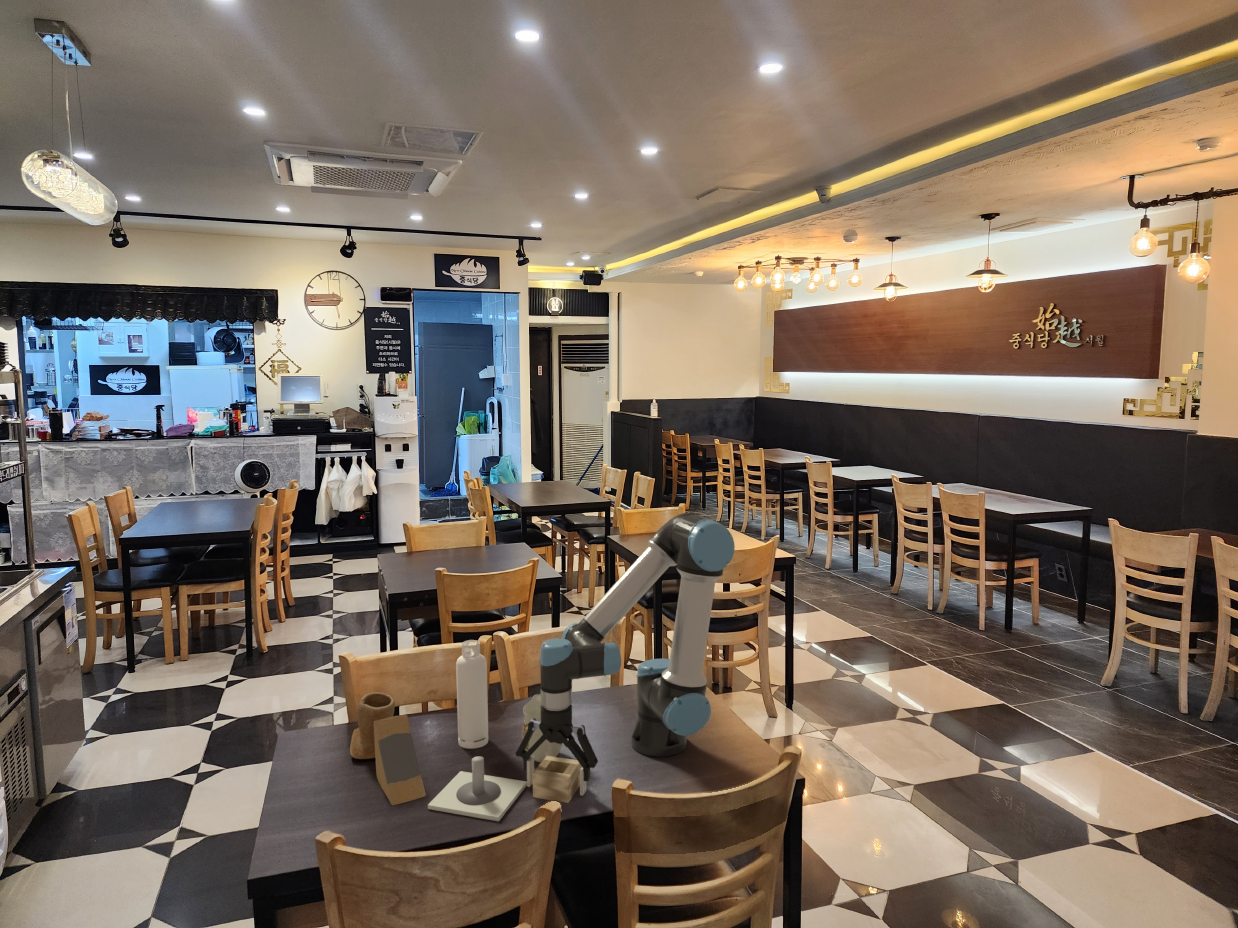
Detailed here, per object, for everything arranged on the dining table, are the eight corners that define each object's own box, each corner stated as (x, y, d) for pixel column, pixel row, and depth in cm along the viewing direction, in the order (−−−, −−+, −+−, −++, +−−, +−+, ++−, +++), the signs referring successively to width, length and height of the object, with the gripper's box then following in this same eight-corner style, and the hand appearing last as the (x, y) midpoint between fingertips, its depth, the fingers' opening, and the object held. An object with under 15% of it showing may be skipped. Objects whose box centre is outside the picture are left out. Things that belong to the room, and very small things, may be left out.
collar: (581, 783, 194) (580, 760, 193) (568, 802, 185) (568, 778, 185) (546, 778, 196) (546, 755, 196) (532, 796, 188) (532, 773, 187)
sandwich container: (391, 806, 184) (388, 746, 182) (375, 777, 197) (372, 720, 195) (427, 796, 189) (425, 737, 187) (409, 768, 202) (407, 712, 200)
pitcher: (529, 777, 197) (528, 725, 195) (518, 744, 214) (517, 696, 212) (572, 771, 200) (571, 719, 198) (557, 739, 217) (557, 691, 215)
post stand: (526, 785, 193) (526, 748, 192) (498, 821, 178) (498, 781, 177) (460, 774, 198) (459, 738, 197) (427, 808, 183) (426, 770, 182)
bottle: (491, 735, 219) (489, 638, 216) (483, 749, 211) (481, 648, 208) (463, 733, 220) (460, 637, 217) (454, 747, 212) (451, 647, 209)
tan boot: (395, 759, 206) (393, 704, 204) (347, 764, 203) (344, 709, 202) (398, 733, 221) (396, 682, 219) (353, 737, 218) (351, 686, 216)
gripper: (610, 704, 188) (610, 788, 191) (514, 691, 195) (515, 772, 198) (601, 717, 181) (601, 804, 184) (501, 704, 188) (502, 787, 191)
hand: (556, 788), depth 191 cm, fingers open, 13 cm apart
